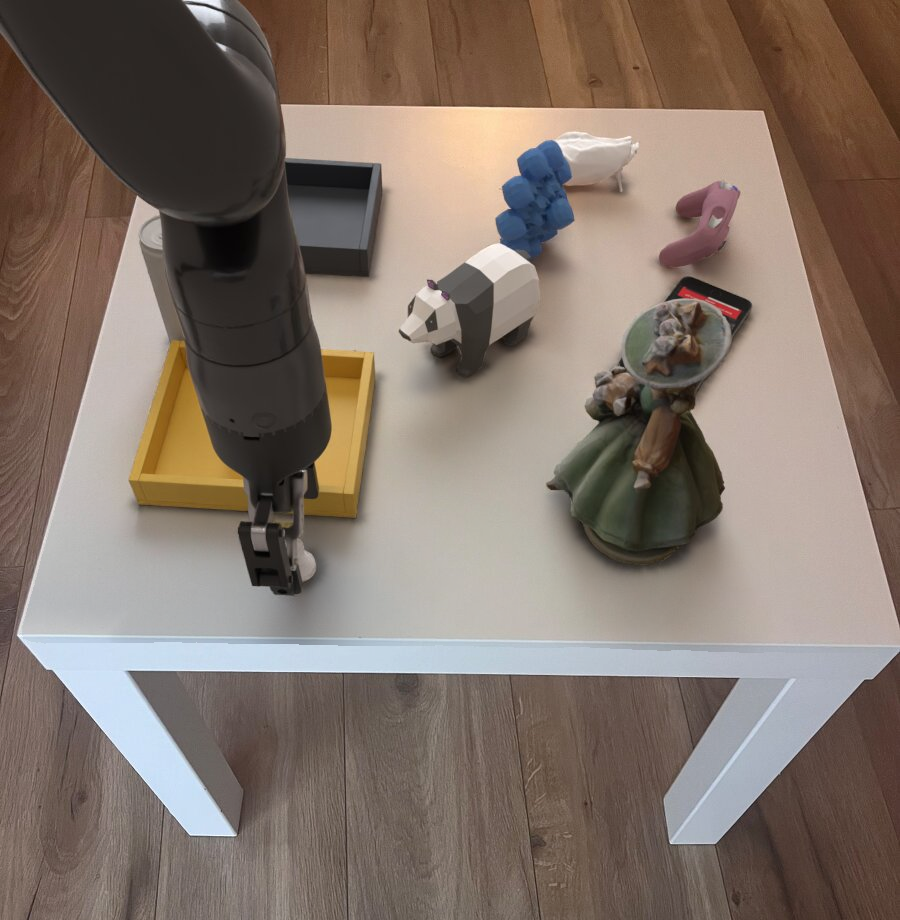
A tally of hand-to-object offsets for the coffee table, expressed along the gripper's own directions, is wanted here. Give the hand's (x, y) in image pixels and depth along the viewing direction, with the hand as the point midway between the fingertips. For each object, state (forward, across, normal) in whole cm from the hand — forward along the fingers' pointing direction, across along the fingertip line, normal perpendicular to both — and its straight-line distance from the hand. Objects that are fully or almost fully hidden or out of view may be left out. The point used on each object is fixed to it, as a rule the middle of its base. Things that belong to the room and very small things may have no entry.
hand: (296, 541), depth 67 cm
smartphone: (+4, -28, +32) cm, 43 cm away
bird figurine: (+4, -51, +22) cm, 56 cm away
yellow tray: (+4, -13, -5) cm, 15 cm away
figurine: (+4, -9, +26) cm, 28 cm away
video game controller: (+4, -42, +34) cm, 54 cm away
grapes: (+4, -38, +18) cm, 42 cm away
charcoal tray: (+4, -41, -6) cm, 42 cm away
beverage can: (+4, -24, -13) cm, 27 cm away
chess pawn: (+4, 0, 0) cm, 4 cm away
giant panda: (+4, -25, +12) cm, 28 cm away
